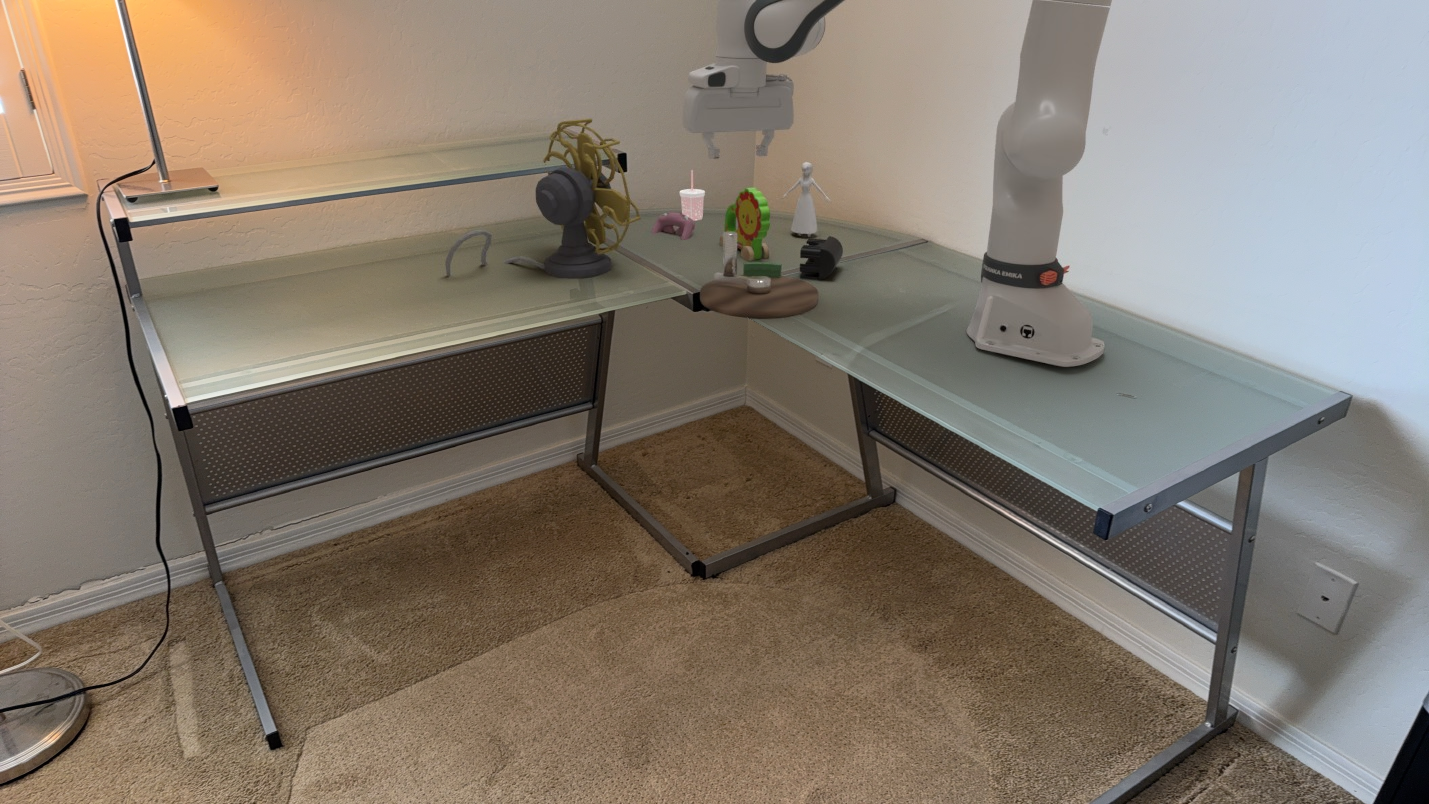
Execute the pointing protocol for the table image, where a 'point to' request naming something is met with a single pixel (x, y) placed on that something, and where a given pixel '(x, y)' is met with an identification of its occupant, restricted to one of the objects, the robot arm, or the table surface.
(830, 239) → the end cap
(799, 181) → the woman figurine
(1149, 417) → the table surface
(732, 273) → the metal lever handle
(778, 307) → the dial plate
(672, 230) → the video game controller
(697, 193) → the beverage cup
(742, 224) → the toy lion
